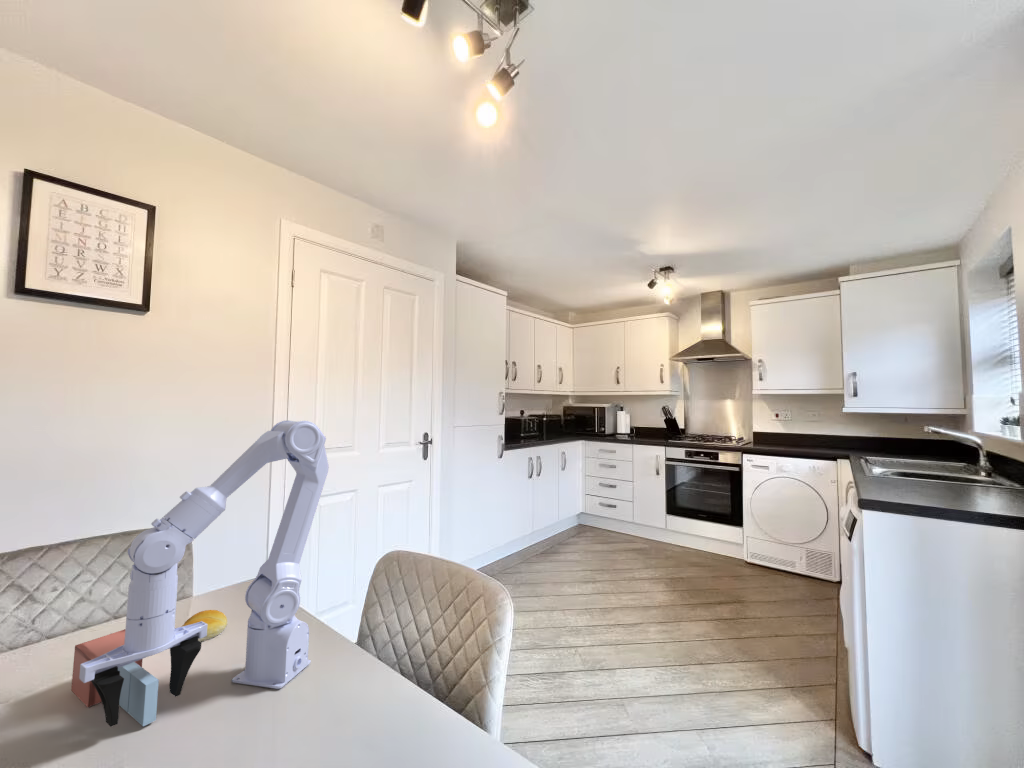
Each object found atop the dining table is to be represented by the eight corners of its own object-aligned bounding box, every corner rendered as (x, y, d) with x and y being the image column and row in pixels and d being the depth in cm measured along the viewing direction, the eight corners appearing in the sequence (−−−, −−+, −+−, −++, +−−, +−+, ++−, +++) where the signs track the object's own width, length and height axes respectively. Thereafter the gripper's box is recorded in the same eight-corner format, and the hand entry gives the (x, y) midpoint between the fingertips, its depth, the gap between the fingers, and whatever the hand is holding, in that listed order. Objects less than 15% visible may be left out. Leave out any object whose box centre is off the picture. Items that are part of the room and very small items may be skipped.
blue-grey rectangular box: (156, 720, 62) (159, 679, 63) (142, 726, 61) (145, 685, 61) (121, 690, 69) (124, 654, 69) (108, 696, 67) (111, 658, 68)
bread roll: (167, 648, 82) (169, 627, 83) (189, 626, 91) (190, 607, 91) (216, 642, 85) (217, 622, 85) (233, 622, 93) (234, 603, 94)
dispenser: (141, 686, 70) (145, 642, 71) (89, 708, 65) (93, 660, 66) (122, 670, 75) (125, 629, 75) (71, 690, 69) (74, 645, 70)
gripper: (194, 589, 72) (189, 673, 71) (75, 624, 59) (66, 727, 58) (215, 598, 68) (210, 687, 67) (93, 638, 56) (84, 748, 55)
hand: (145, 707), depth 63 cm, fingers open, 7 cm apart
